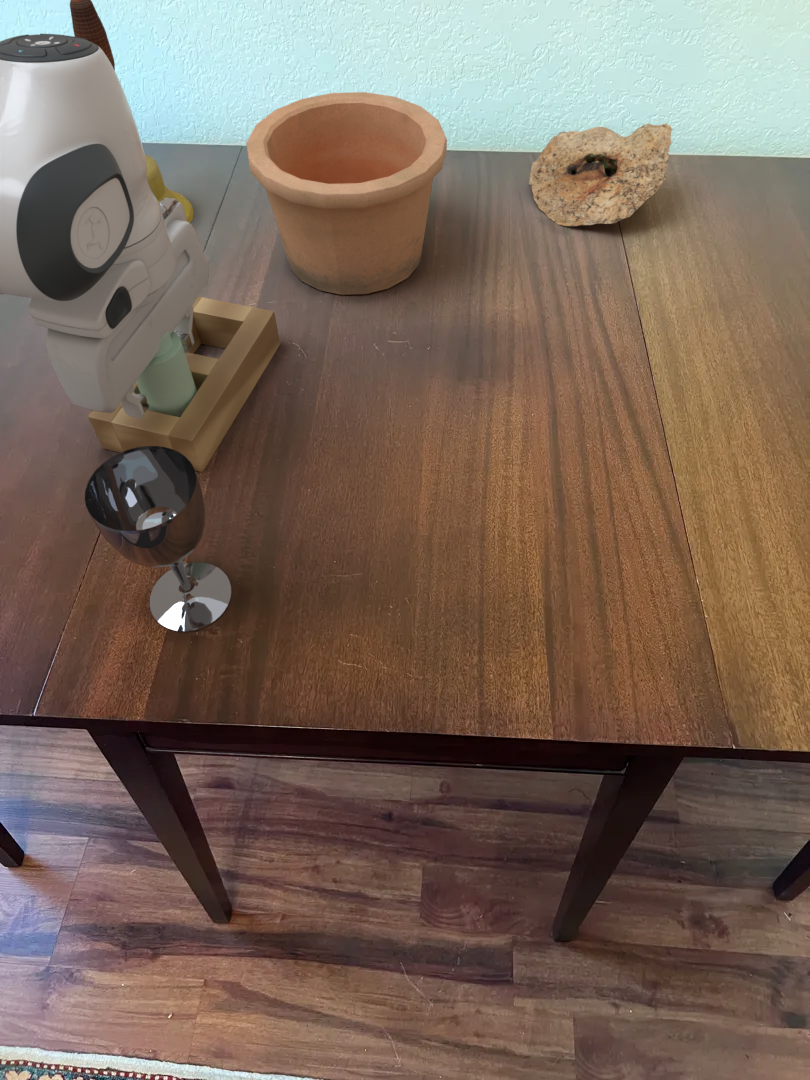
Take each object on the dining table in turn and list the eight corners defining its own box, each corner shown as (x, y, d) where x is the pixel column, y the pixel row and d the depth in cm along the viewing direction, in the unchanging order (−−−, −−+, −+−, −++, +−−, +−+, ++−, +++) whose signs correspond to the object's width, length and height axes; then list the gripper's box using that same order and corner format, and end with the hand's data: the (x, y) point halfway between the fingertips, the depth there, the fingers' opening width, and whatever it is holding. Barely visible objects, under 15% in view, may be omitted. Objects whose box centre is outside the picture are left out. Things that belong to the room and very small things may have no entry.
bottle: (145, 434, 80) (96, 315, 67) (168, 399, 82) (126, 280, 70) (190, 445, 79) (149, 327, 67) (213, 409, 81) (177, 290, 69)
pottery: (246, 302, 92) (221, 186, 80) (291, 198, 104) (275, 85, 93) (429, 318, 89) (430, 202, 78) (452, 210, 102) (456, 96, 90)
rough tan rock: (533, 262, 106) (515, 220, 100) (550, 182, 111) (534, 137, 105) (671, 241, 97) (661, 194, 91) (682, 155, 102) (673, 105, 96)
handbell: (196, 238, 99) (139, 16, 79) (97, 251, 98) (14, 29, 78) (191, 186, 106) (138, -29, 86) (99, 197, 105) (23, -18, 85)
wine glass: (190, 544, 71) (142, 430, 59) (255, 586, 69) (219, 475, 56) (125, 605, 68) (60, 497, 55) (191, 652, 65) (138, 549, 53)
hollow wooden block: (102, 448, 78) (87, 416, 75) (190, 325, 89) (181, 292, 86) (202, 472, 76) (192, 441, 73) (280, 344, 87) (274, 311, 84)
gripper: (144, 181, 71) (181, 307, 82) (14, 322, 59) (78, 445, 71) (207, 192, 70) (236, 318, 81) (87, 337, 58) (140, 460, 70)
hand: (162, 378), depth 76 cm, fingers open, 8 cm apart
